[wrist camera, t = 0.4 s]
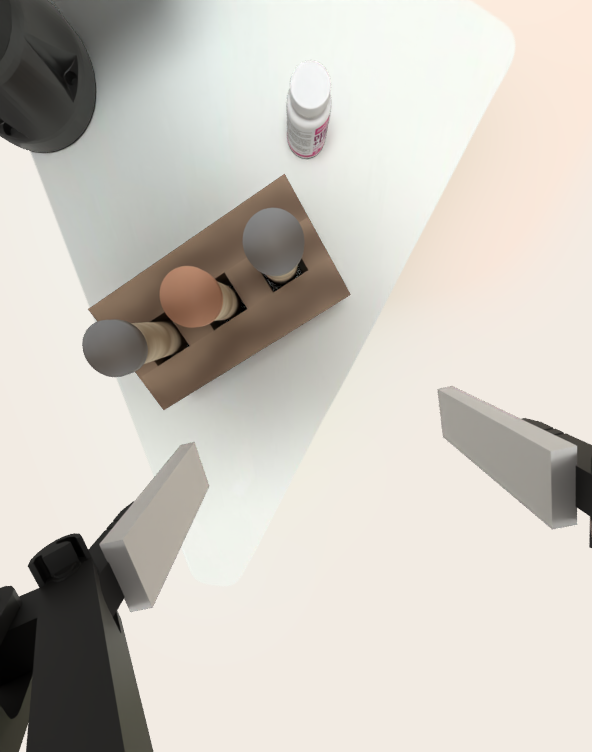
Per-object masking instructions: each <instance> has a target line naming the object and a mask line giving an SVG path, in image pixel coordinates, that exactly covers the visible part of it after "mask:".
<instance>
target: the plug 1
mask: <svg viewBox="0 0 592 752" xmlns="http://www.w3.org/2000/svg"><path fill="white" fill-rule="evenodd" d="M187 344H188V343H187V341H186V340H185V338H184V337H183V335H182V334H181V332H180V331H179V330H178V328H177V327H176V325H175V324H174V322H173V321H162V322H145V323H129V322H127V321H124V320H102V321H98V322H96V323H94V324H92V325H91V326H90V327H89V328H88V329H87V331H86V333H85V334H84V337H83V345H82V346H83V352H84V355H85V358H86V359H87V361H88V363H89V364H90V365H91V366H92V367H93V368H94V369H95V370H96V371H98V372H99V373H101V374H103V375H106V376H110V377H121V376H125V375H127V374H130V373H133V372H135V371H137V370H138V369H140V368H141V367H142V366H143V364H145V363H148V362H151V361H154V360H157V359H160V358H163V357H166V356H169V355H172V354H175V353H178V352H181V351H182V350H184V349H185V348H186V346H187Z"/></svg>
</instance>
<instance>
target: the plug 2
mask: <svg viewBox="0 0 592 752" xmlns="http://www.w3.org/2000/svg"><path fill="white" fill-rule="evenodd" d="M304 242H305V241H304V233H303V230H302V227H301V225H300V223H299V222H298V220H297V219H296V218H295V217H294V216H293V215H292V214H290V213H289V212H287V211H285V210H283V209H279V208H267V209H263V210H261V211H259V212H257V213H256V214H254V215H253V216H252V217H251V218H250V220H249V221H248V223H247V224H246V227H245V229H244V233H243V248H244V252H245V255H246V257H247V259H248V260H249V262H250V263H251V264H252V265H253V266H254V267H255V268H256V269H257V270H258V271H259V272H261V273H263V274H265V275H266V276H267V277H268V279H269V280H270V281H272V282H273V283H275V284H281V285H282V284H286V283H289V282H290V281H292V280H293V278H294V277H295V275H296V273H297V268H298V264H299V262H300V260H301V258H302V255H303V251H304Z"/></svg>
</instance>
